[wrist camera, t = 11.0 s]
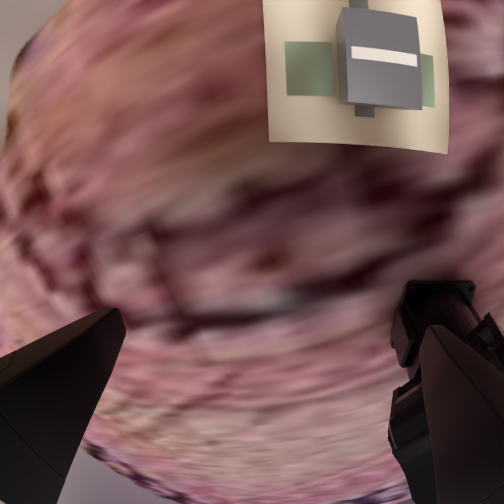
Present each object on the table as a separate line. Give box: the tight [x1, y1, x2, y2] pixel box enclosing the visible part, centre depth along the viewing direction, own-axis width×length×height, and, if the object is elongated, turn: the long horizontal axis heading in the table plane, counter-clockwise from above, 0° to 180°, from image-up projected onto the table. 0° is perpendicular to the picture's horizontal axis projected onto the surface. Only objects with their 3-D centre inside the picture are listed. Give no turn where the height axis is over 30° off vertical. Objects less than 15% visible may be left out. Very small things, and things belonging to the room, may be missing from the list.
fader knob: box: [335, 7, 422, 110], centre depth 11 cm, size 3×4×4 cm
